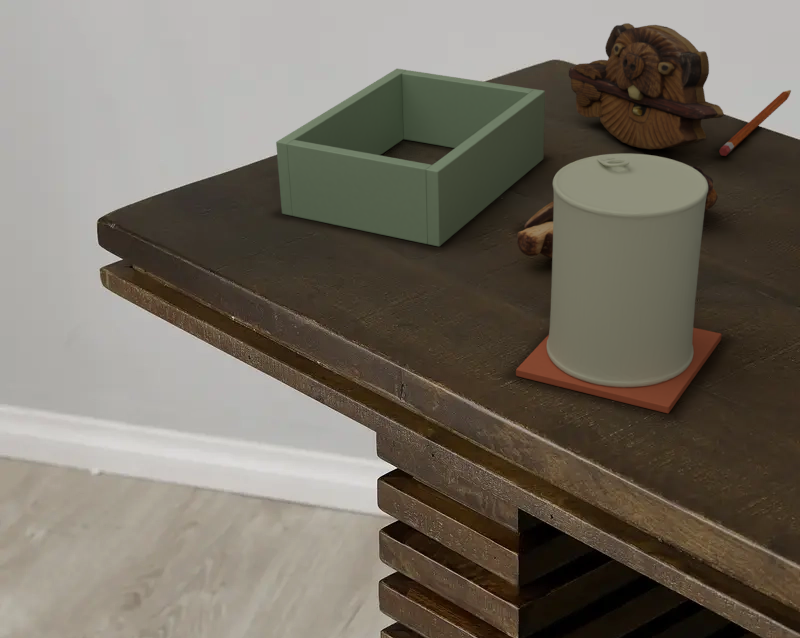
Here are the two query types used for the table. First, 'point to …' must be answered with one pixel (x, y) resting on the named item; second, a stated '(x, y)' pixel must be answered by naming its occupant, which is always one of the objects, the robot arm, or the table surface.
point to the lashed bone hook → (541, 235)
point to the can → (625, 268)
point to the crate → (406, 180)
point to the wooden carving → (647, 88)
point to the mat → (645, 396)
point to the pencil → (754, 123)
